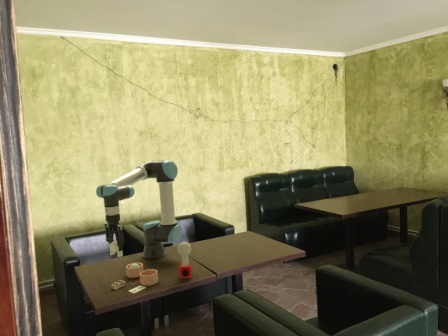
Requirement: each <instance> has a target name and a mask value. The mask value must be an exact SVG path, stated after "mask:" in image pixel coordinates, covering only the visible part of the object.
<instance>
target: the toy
mask: <svg viewBox="0 0 448 336" xmlns="http://www.w3.org/2000/svg"><path fill="white" fill-rule="evenodd" d="M176 252H177V254H178V255H179V256H181V257H180V259H181V261H180V262H181V263H180V264H179V279H191V278H192V273H193V272H192V271H193V270H192V263H190V262H189V255H190V253H192V246H191V244H190V243H189V242H187V241H182V242H180V243H179V244H178V245H177V249H176Z"/></svg>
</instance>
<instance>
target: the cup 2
mask: <svg viewBox="0 0 448 336" xmlns="http://www.w3.org/2000/svg"><path fill="white" fill-rule="evenodd" d="M143 270H144V271H142V272H140V277H139V281H140V285H141V286H144V287H148V286H153V285H156V284H157V283H158V282H159V275H158V269H153V268H152V269H143Z"/></svg>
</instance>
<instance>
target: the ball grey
mask: <svg viewBox="0 0 448 336" xmlns="http://www.w3.org/2000/svg"><path fill="white" fill-rule="evenodd" d="M117 245H118V244H117V240H114V241H113V242H112V243H111V244H110V248H109V250H110V249H111V251H113V252H115V253H117Z"/></svg>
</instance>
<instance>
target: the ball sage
mask: <svg viewBox="0 0 448 336" xmlns="http://www.w3.org/2000/svg"><path fill="white" fill-rule="evenodd" d="M137 267H140V266H139V265H138V264H132V265H131V266H130V268H137Z"/></svg>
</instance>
